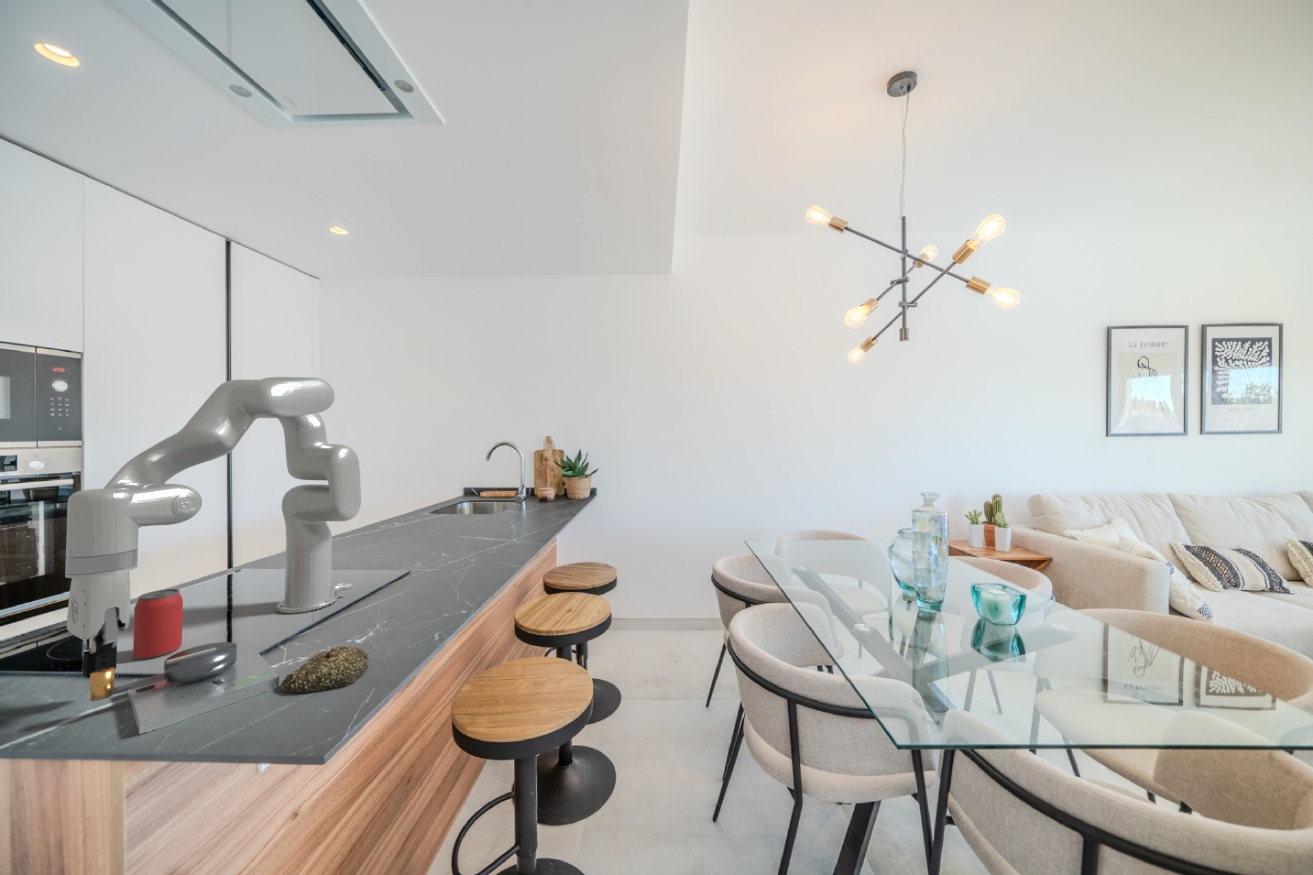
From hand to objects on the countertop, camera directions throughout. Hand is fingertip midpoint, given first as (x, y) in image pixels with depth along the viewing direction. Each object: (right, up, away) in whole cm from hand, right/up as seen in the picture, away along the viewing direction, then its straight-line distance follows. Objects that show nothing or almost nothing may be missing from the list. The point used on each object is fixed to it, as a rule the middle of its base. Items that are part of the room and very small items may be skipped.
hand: (99, 672), depth 73 cm
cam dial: (+10, -2, +2) cm, 10 cm away
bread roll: (+32, -6, +9) cm, 34 cm away
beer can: (-8, -5, +16) cm, 19 cm away
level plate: (+15, -5, +3) cm, 16 cm away
